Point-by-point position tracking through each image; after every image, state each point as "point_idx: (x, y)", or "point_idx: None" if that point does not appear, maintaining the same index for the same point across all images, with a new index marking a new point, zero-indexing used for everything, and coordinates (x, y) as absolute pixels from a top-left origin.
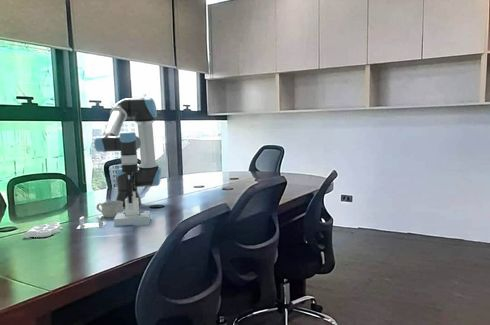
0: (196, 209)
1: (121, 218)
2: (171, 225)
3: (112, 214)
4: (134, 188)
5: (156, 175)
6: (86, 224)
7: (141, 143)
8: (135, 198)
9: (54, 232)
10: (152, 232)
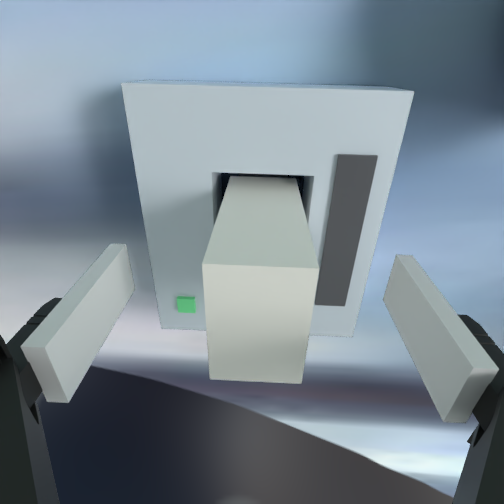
0: (423, 464)
1: (138, 155)
2: (138, 374)
3: None
4: (463, 471)
5: None
6: None
7: None
8: (259, 362)
9: None
10: (9, 305)
